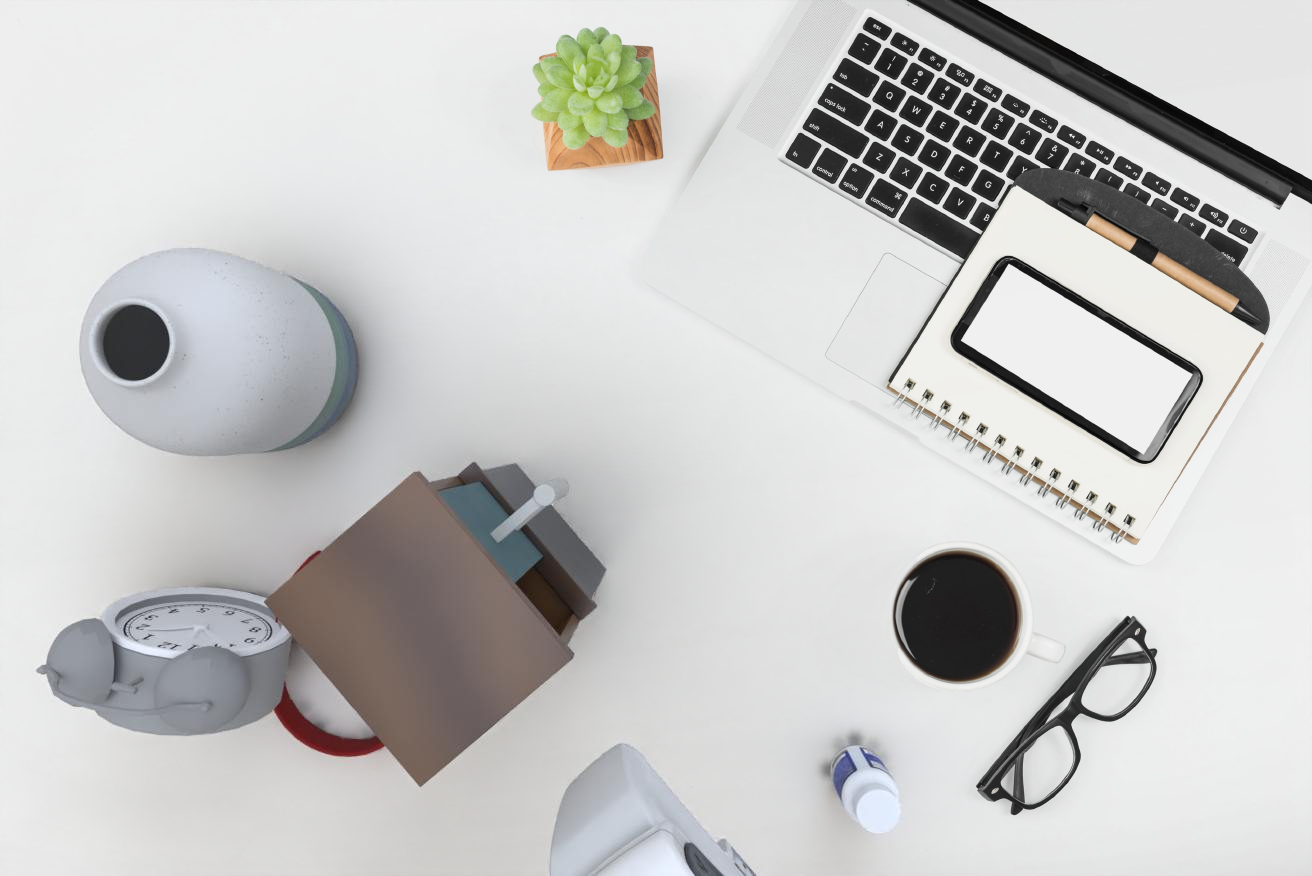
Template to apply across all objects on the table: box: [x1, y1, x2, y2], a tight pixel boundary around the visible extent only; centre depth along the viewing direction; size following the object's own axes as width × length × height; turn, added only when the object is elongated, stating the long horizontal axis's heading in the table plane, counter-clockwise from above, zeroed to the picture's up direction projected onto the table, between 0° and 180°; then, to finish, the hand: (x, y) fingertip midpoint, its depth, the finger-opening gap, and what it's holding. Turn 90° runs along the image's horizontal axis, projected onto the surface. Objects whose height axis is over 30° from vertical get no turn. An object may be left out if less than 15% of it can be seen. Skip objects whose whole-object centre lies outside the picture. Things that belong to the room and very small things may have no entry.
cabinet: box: [264, 461, 607, 788], centre depth 65 cm, size 12×14×35 cm
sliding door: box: [439, 477, 571, 583], centre depth 54 cm, size 6×7×12 cm
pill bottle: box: [829, 744, 902, 835], centre depth 77 cm, size 5×5×9 cm
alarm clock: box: [35, 586, 293, 737], centre depth 72 cm, size 16×9×22 cm, turn 78°
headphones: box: [273, 550, 386, 758], centre depth 80 cm, size 15×7×20 cm
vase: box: [78, 247, 360, 457], centre depth 71 cm, size 17×17×24 cm
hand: (730, 867), depth 43 cm, fingers closed
